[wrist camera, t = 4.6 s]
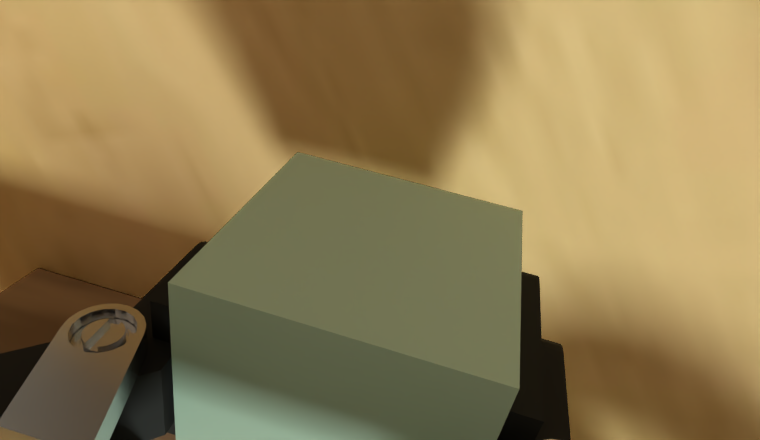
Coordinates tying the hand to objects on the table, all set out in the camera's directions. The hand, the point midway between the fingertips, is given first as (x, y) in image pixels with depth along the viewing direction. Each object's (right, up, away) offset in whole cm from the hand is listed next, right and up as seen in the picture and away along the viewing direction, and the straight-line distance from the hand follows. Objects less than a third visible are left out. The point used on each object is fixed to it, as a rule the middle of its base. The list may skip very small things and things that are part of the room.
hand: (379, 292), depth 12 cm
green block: (0, 0, +1) cm, 1 cm away
